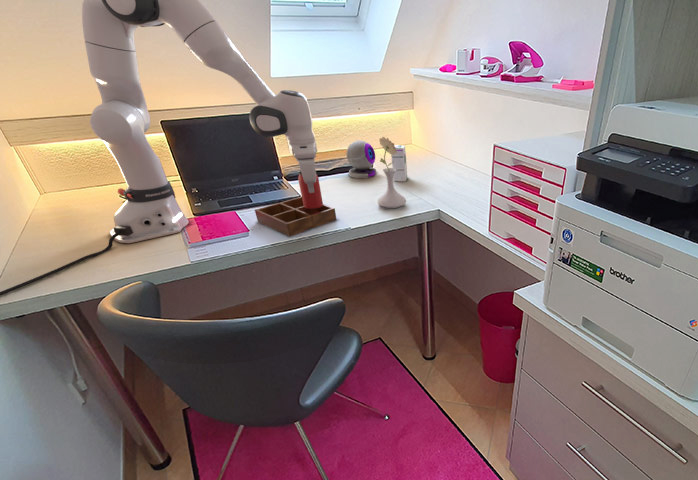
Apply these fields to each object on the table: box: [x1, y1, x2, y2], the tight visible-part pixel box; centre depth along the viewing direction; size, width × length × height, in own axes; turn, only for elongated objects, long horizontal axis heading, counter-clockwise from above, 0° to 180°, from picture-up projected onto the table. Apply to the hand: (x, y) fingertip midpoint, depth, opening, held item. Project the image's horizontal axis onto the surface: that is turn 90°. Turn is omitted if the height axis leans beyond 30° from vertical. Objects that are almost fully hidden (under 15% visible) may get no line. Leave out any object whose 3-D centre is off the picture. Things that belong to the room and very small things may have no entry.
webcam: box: [346, 139, 377, 179], centre depth 196 cm, size 13×13×15 cm
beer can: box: [297, 170, 324, 209], centre depth 146 cm, size 7×7×12 cm
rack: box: [254, 195, 337, 238], centre depth 151 cm, size 19×19×4 cm
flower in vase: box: [377, 136, 407, 209], centre depth 161 cm, size 13×11×25 cm
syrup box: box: [390, 144, 408, 182], centre depth 191 cm, size 6×6×14 cm
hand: (310, 188), depth 146 cm, fingers closed on beer can, 6 cm apart
